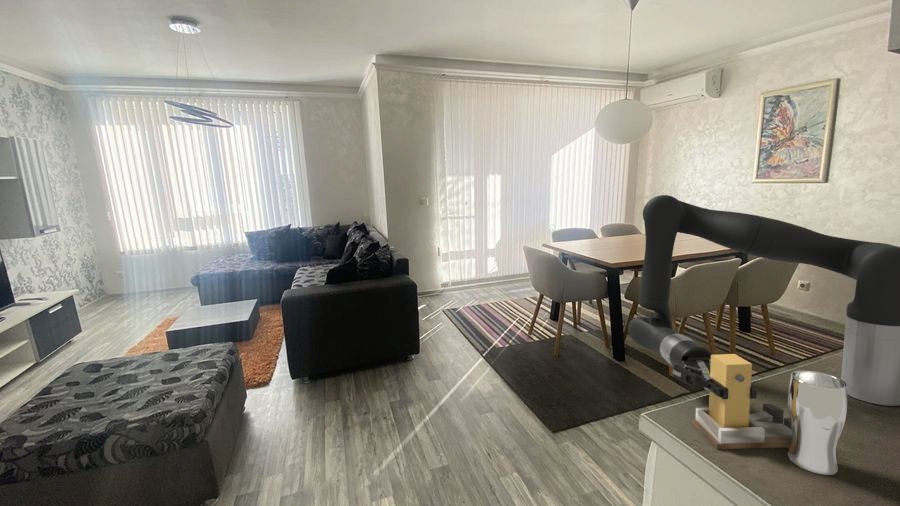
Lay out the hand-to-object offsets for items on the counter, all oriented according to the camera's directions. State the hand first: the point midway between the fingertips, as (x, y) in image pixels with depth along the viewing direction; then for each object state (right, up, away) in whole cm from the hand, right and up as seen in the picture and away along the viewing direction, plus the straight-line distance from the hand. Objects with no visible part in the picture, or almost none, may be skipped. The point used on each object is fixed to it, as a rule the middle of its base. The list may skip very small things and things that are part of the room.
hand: (740, 394), depth 68 cm
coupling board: (+4, -9, +4) cm, 11 cm away
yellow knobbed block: (+1, -7, +4) cm, 8 cm away
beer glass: (+9, -10, -4) cm, 14 cm away
